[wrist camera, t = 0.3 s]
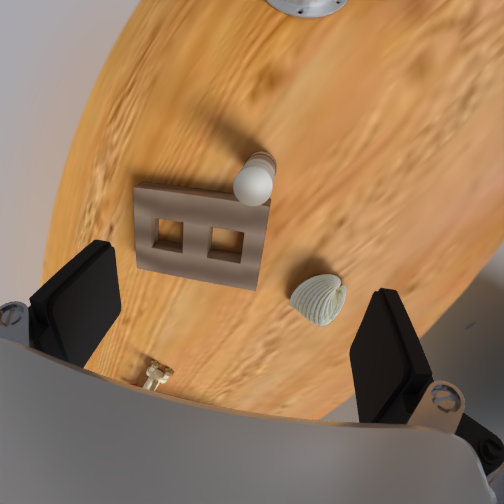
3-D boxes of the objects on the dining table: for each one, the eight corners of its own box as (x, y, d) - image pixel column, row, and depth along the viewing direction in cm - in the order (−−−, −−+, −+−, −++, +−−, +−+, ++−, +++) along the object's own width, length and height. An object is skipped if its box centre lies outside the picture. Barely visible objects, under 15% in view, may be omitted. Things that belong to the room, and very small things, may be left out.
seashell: (361, 299, 48) (331, 338, 47) (326, 277, 54) (299, 313, 54) (344, 276, 42) (310, 321, 42) (306, 254, 49) (275, 293, 48)
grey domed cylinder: (249, 147, 41) (234, 165, 30) (279, 152, 40) (275, 171, 30) (245, 175, 43) (230, 203, 32) (274, 180, 42) (269, 209, 32)
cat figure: (146, 349, 65) (120, 397, 75) (133, 376, 57) (109, 419, 67) (183, 370, 67) (150, 413, 76) (174, 398, 59) (142, 436, 68)
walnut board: (142, 181, 45) (133, 187, 42) (271, 199, 44) (269, 206, 41) (144, 259, 51) (136, 268, 49) (257, 280, 51) (255, 290, 48)
